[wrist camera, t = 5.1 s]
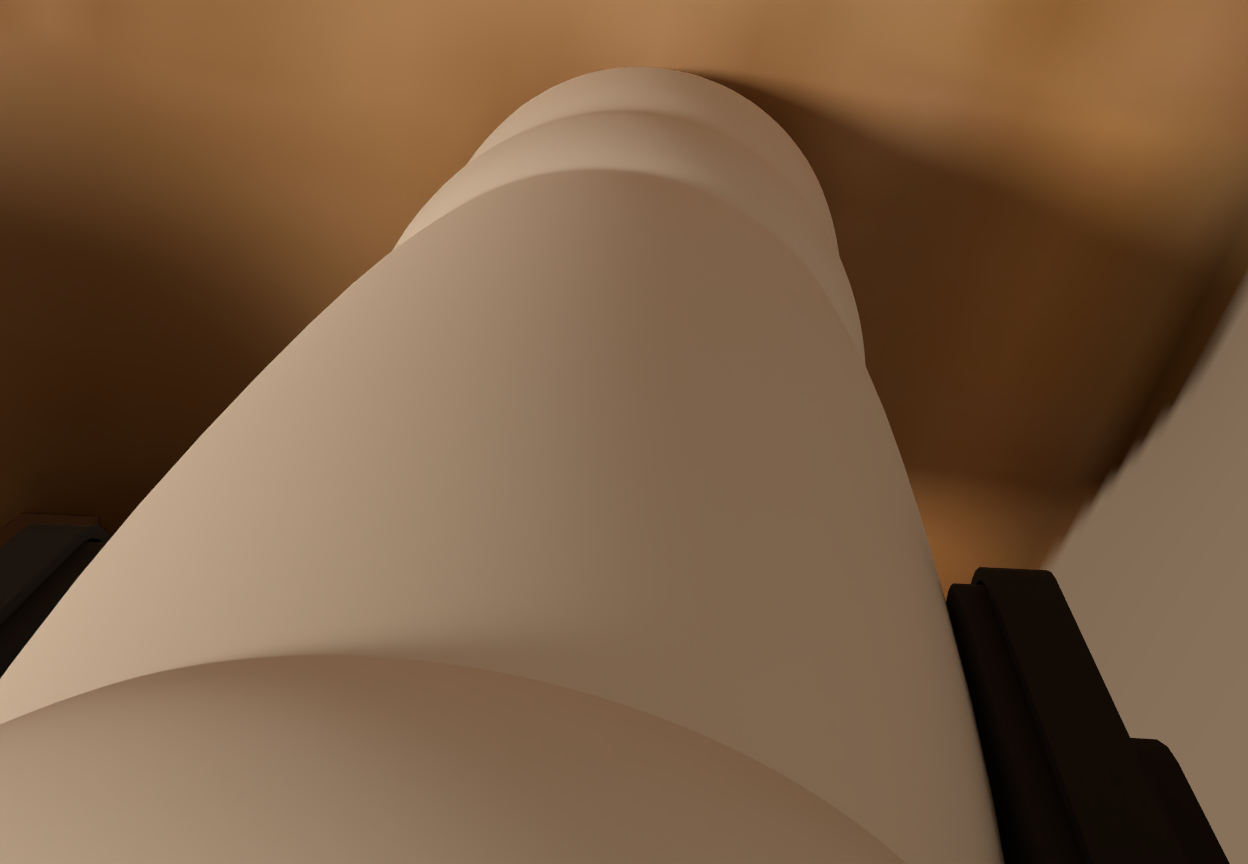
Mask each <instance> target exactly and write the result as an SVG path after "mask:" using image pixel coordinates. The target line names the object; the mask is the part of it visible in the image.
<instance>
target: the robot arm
mask: <svg viewBox="0 0 1248 864" xmlns="http://www.w3.org/2000/svg"><path fill="white" fill-rule="evenodd" d="M110 539H111V537H110V536H109V534H108V533H107V532H106V531H105V529H103V528H100V527H98V526H91V525H70V524H48V523H35V524H29V525H27V526H26V527H24V528H22V529H21V530H20V531H18V532H17V533H16V534H15V535H14V536H13V537H12V538H11V539H10V540H8V541H7V542H6V543H5V544H4V545H3V546H2V547H1V548H0V679H1V677H2V676H3V674H4V673H5V672H6V670H7V669H8V668H9V666H10V665H11V663H12V662H13V661H14V660H15V658H16V657H17V656H18V654H19V653H20V652H21V650H22V649H23V648H24V647H25V645H26V644H27V643H28V641H29V640H30V639H31V638H32V636H33V635H34V634H35V632H36V631H37V630H38V628H39V627H40V626H41V625H42V623H43V622H44V621H45V619H46V618H47V617H48V616H49V614H50V613H51V612H52V610H53V609H54V608H55V607H56V605H57V604H58V603H59V601H60V600H61V599H62V598H63V596H64V595H65V594H66V592H67V591H68V590H69V588H70V587H71V586H72V585H73V583H74V582H75V581H76V579H77V578H78V577H79V576H80V575H81V573H82V572H83V571H84V570H85V569H86V567H87V566H88V565H89V564H90V563H91V561H92V560H93V559H94V558H95V557H96V555H97V554H98V553H99V552H100V551H101V549H102V548H103V547H104V546H105V545H106V543H107V542H108V541H109V540H110ZM946 605H947V608H948V612H949V616H950V620H951V624H952V628H953V632H954V635H955V639H956V643H957V647H958V651H959V655H960V659H961V663H962V666H963V670H964V674H965V678H966V682H967V686H968V690H969V693H970V697H971V701H972V705H973V709H974V714H975V719H976V723H977V728H978V732H979V737H980V741H981V746H982V750H983V755H984V759H985V764H986V768H987V773H988V778H989V782H990V787H991V791H992V796H993V801H994V807H995V812H996V817H997V823H998V828H999V834H1000V839H1001V845H1002V850H1003V855H1004V861H1005V864H1229V862H1228V860H1227V858H1226V856H1225V854H1224V852H1223V850H1222V848H1221V846H1220V844H1219V842H1218V840H1217V838H1216V836H1215V834H1214V832H1213V830H1212V828H1211V826H1210V825H1209V822H1208V820H1207V818H1206V816H1205V815H1204V812H1203V810H1202V809H1201V807H1200V805H1199V803H1198V801H1197V799H1196V797H1195V795H1194V793H1193V791H1192V789H1191V787H1190V785H1189V783H1188V781H1187V779H1186V777H1185V775H1184V773H1183V771H1182V770H1181V767H1180V765H1179V763H1178V762H1177V760H1176V759H1175V757H1174V756H1173V754H1172V753H1171V751H1170V750H1169V748H1168V747H1167V746H1166V745H1164V744H1163V743H1161V742H1160V741H1158V740H1155V739H1139V738H1130V737H1129V734H1128V732H1127V730H1126V728H1125V726H1124V724H1123V722H1122V720H1121V718H1120V715H1119V713H1118V711H1117V709H1116V707H1115V705H1114V702H1113V701H1112V698H1111V696H1110V694H1109V692H1108V690H1107V687H1106V686H1105V683H1104V681H1103V679H1102V677H1101V675H1100V673H1099V670H1098V668H1097V666H1096V664H1095V662H1094V660H1093V657H1092V655H1091V653H1090V651H1089V649H1088V647H1087V645H1086V642H1085V640H1084V638H1083V636H1082V634H1081V632H1080V630H1079V628H1078V625H1077V623H1076V621H1075V619H1074V617H1073V615H1072V613H1071V610H1070V608H1069V607H1068V604H1067V602H1066V600H1065V598H1064V595H1063V593H1062V591H1061V589H1060V587H1059V585H1058V583H1057V580H1056V579H1055V577H1054V576H1053V574H1052V573H1051V572H1049V571H1047V570H1029V569H1008V568H987V567H979V568H978V569H977V570H976V571H975V573H974V576H973V578H972V582H971V584H954V583H953V584H952V585H951V586H950V589H949V591H948V596H947V600H946Z"/></svg>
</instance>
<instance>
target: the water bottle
mask: <svg viewBox="0 0 1248 864" xmlns="http://www.w3.org/2000/svg"><path fill="white" fill-rule="evenodd" d="M0 864H1005V861H1004V855H1003V850H1002V845H1001V839H1000V834H999V828H998V823H997V817H996V812H995V807H994V801H993V796H992V791H991V787H990V782H989V778H988V773H987V768H986V764H985V759H984V755H983V750H982V746H981V741H980V737H979V732H978V728H977V723H976V719H975V714H974V709H973V705H972V701H971V697H970V693H969V690H968V686H967V682H966V678H965V674H964V670H963V666H962V663H961V659H960V655H959V651H958V647H957V643H956V639H955V635H954V632H953V628H952V624H951V620H950V616H949V612H948V608H947V605H946V601H945V598H944V595H943V591H942V588H941V584H940V581H939V577H938V574H937V570H936V567H935V563H934V560H933V556H932V553H931V549H930V546H929V542H928V539H927V536H926V532H925V529H924V526H923V523H922V520H921V517H920V514H919V510H918V507H917V504H916V501H915V498H914V495H913V492H912V488H911V485H910V482H909V479H908V476H907V473H906V470H905V466H904V463H903V461H902V458H901V455H900V452H899V449H898V447H897V444H896V441H895V438H894V435H893V433H892V430H891V427H890V424H889V421H888V419H887V416H886V413H885V411H884V408H883V406H882V403H881V401H880V399H879V396H878V394H877V392H876V389H875V387H874V385H873V382H872V380H871V378H870V375H869V373H868V371H867V368H866V366H865V353H864V344H863V336H862V330H861V324H860V319H859V315H858V310H857V306H856V302H855V299H854V295H853V292H852V289H851V285H850V283H849V280H848V277H847V275H846V272H845V269H844V266H843V264H842V262H841V259H840V257H839V250H838V244H837V238H836V234H835V229H834V225H833V221H832V217H831V214H830V210H829V207H828V204H827V201H826V199H825V196H824V193H823V190H822V188H821V186H820V184H819V181H818V179H817V177H816V175H815V173H814V172H813V170H812V168H811V166H810V164H809V162H808V161H807V159H806V158H805V156H804V155H803V153H802V152H801V150H800V149H799V148H798V146H797V145H796V144H795V142H794V141H793V140H792V139H791V137H790V136H789V135H788V134H787V133H786V132H785V131H784V129H783V128H782V127H781V126H780V125H779V124H778V123H777V122H776V121H775V120H773V119H772V118H771V117H770V116H769V115H768V114H767V113H766V112H764V111H763V110H762V109H761V108H759V107H758V106H757V105H755V104H754V103H753V102H751V101H750V100H748V99H746V98H745V97H743V96H742V95H740V94H738V93H737V92H735V91H733V90H731V89H729V88H727V87H725V86H723V85H721V84H719V83H716V82H714V81H711V80H708V79H706V78H703V77H700V76H697V75H694V74H690V73H686V72H681V71H676V70H671V69H665V68H656V67H623V68H614V69H608V70H602V71H597V72H592V73H589V74H585V75H582V76H579V77H576V78H573V79H570V80H568V81H565V82H563V83H560V84H558V85H556V86H554V87H552V88H550V89H548V90H546V91H545V92H543V93H541V94H539V95H538V96H536V97H534V98H533V99H531V100H530V101H528V102H527V103H525V104H524V105H522V106H521V107H520V108H519V109H517V110H516V111H515V112H514V113H513V114H511V115H510V116H509V117H508V118H507V119H506V120H505V121H504V122H503V123H502V124H500V125H499V126H498V127H497V128H496V129H495V130H494V131H493V132H492V134H491V135H490V136H489V137H488V138H487V139H486V140H485V142H484V143H483V144H482V145H481V146H480V147H479V149H478V150H477V151H476V152H475V154H474V155H473V157H472V158H471V159H470V161H469V162H468V163H467V165H466V166H465V167H463V168H462V169H461V170H460V171H459V172H458V173H456V174H455V175H454V176H453V177H452V178H451V179H450V180H449V181H448V182H446V183H445V184H444V185H443V186H442V187H441V188H440V189H439V190H438V191H437V192H436V193H435V194H434V195H433V196H432V198H431V199H430V200H429V201H428V202H427V203H426V204H425V206H424V207H423V208H422V209H421V210H420V211H419V213H418V214H417V215H416V216H415V218H414V219H413V220H412V222H411V223H410V224H409V226H408V227H407V229H406V230H405V232H404V233H403V235H402V236H401V238H400V239H399V241H398V242H397V244H396V246H395V247H394V249H393V251H392V252H390V253H389V254H388V255H386V256H385V257H384V258H383V259H382V260H380V261H379V262H378V263H377V264H376V265H374V266H373V267H372V268H371V269H370V270H368V271H367V272H366V273H365V274H364V275H362V276H361V277H360V278H359V279H358V280H356V281H355V282H354V283H353V284H352V285H351V286H350V287H349V288H347V289H346V290H345V291H344V292H343V293H342V294H341V295H340V296H339V297H338V298H337V299H336V300H335V301H333V302H332V303H331V304H330V305H329V306H328V307H327V308H326V309H325V310H324V311H323V312H322V313H321V314H319V315H318V316H317V317H316V318H315V319H314V320H313V321H312V322H311V323H310V324H309V325H308V326H307V327H306V328H305V329H304V330H303V331H302V332H301V333H300V334H299V335H298V336H297V337H296V338H295V339H294V340H293V341H292V342H291V343H290V344H289V345H288V346H287V347H286V348H285V349H284V350H283V351H282V352H281V353H280V354H279V355H278V356H277V357H276V358H275V359H274V360H273V361H272V362H271V363H270V364H269V365H268V366H267V367H266V368H265V369H264V370H263V371H262V372H261V373H260V374H259V375H258V376H257V377H256V378H255V379H254V380H253V381H252V382H251V383H250V384H249V385H248V386H247V387H246V388H245V389H244V391H243V392H242V393H241V394H240V395H239V396H238V397H237V398H236V399H235V400H234V401H233V402H232V403H231V404H230V405H229V406H228V407H227V408H226V410H225V411H224V412H223V413H222V414H221V415H220V416H219V417H218V418H217V419H216V420H215V421H214V422H213V423H212V424H211V425H210V426H209V427H208V429H207V430H206V431H205V432H204V433H203V434H202V435H201V436H200V437H199V438H198V439H197V440H196V442H195V443H194V444H193V445H192V446H191V447H190V448H189V449H188V450H187V452H186V453H185V454H184V455H183V456H182V457H181V458H180V459H179V460H178V462H177V463H176V464H175V465H174V466H173V467H172V468H171V469H170V471H169V472H168V473H167V474H166V475H165V476H164V477H163V478H162V479H161V481H160V482H159V483H158V484H157V485H156V486H155V487H154V488H153V489H152V491H151V492H150V493H149V494H148V495H147V496H146V497H145V498H144V500H143V501H142V502H141V503H140V504H139V505H138V506H137V508H136V509H135V510H134V511H133V512H132V513H131V515H130V516H129V517H128V518H127V519H126V521H125V522H124V523H123V524H122V525H121V527H120V528H119V529H118V530H117V531H116V533H115V534H114V535H113V536H112V537H111V539H110V540H109V541H108V542H107V543H106V545H105V546H104V547H103V548H102V549H101V551H100V552H99V553H98V554H97V555H96V557H95V558H94V559H93V560H92V561H91V563H90V564H89V565H88V566H87V567H86V569H85V570H84V571H83V572H82V573H81V575H80V576H79V577H78V578H77V579H76V581H75V582H74V583H73V585H72V586H71V587H70V588H69V590H68V591H67V592H66V594H65V595H64V596H63V598H62V599H61V600H60V601H59V603H58V604H57V605H56V607H55V608H54V609H53V610H52V612H51V613H50V614H49V616H48V617H47V618H46V619H45V621H44V622H43V623H42V625H41V626H40V627H39V628H38V630H37V631H36V632H35V634H34V635H33V636H32V638H31V639H30V640H29V641H28V643H27V644H26V645H25V647H24V648H23V649H22V650H21V652H20V653H19V654H18V656H17V657H16V658H15V660H14V661H13V662H12V663H11V665H10V666H9V668H8V669H7V670H6V672H5V673H4V674H3V676H2V677H1V679H0Z"/></svg>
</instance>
